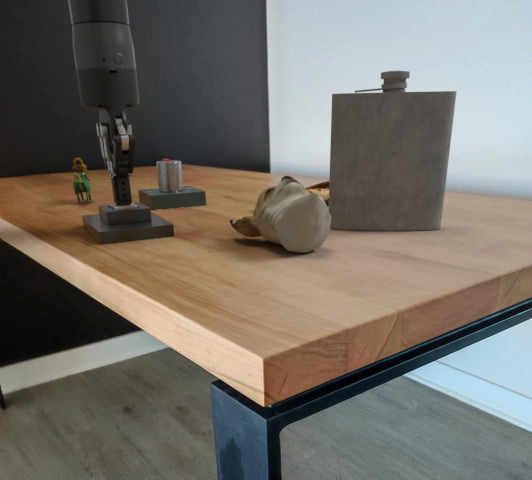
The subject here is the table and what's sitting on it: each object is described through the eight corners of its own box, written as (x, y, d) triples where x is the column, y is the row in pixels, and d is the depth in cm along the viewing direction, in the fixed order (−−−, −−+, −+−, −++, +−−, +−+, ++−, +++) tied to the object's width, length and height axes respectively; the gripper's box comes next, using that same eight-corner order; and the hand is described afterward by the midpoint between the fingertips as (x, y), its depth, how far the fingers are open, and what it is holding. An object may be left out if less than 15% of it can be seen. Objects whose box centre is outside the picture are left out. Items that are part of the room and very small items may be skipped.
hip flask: (438, 225, 79) (456, 70, 70) (443, 231, 75) (462, 68, 67) (328, 224, 80) (332, 73, 72) (327, 230, 77) (332, 71, 68)
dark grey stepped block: (100, 245, 71) (97, 218, 69) (83, 226, 82) (79, 203, 81) (174, 236, 75) (172, 210, 73) (148, 220, 86) (145, 197, 85)
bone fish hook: (336, 199, 104) (252, 206, 97) (337, 174, 103) (251, 178, 95) (365, 204, 97) (276, 211, 89) (367, 177, 95) (276, 182, 88)
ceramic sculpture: (272, 180, 58) (222, 176, 70) (275, 261, 61) (226, 243, 74) (356, 175, 62) (294, 171, 74) (354, 251, 65) (295, 235, 78)
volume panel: (152, 210, 94) (150, 194, 93) (139, 203, 102) (137, 188, 101) (206, 205, 98) (205, 190, 97) (190, 199, 106) (189, 184, 105)
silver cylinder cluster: (186, 190, 98) (184, 159, 96) (163, 192, 96) (160, 161, 94) (178, 187, 102) (175, 158, 100) (155, 189, 100) (152, 159, 98)
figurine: (97, 197, 109) (91, 154, 106) (87, 207, 98) (80, 160, 95) (82, 198, 109) (75, 155, 106) (69, 208, 98) (62, 160, 95)
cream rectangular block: (116, 220, 76) (114, 207, 75) (111, 216, 78) (109, 204, 78) (138, 217, 77) (137, 205, 76) (133, 214, 80) (132, 202, 79)
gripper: (68, 70, 74) (88, 201, 81) (84, 62, 63) (105, 214, 70) (123, 70, 77) (138, 197, 84) (148, 63, 66) (162, 209, 73)
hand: (123, 204), depth 77 cm, fingers closed
